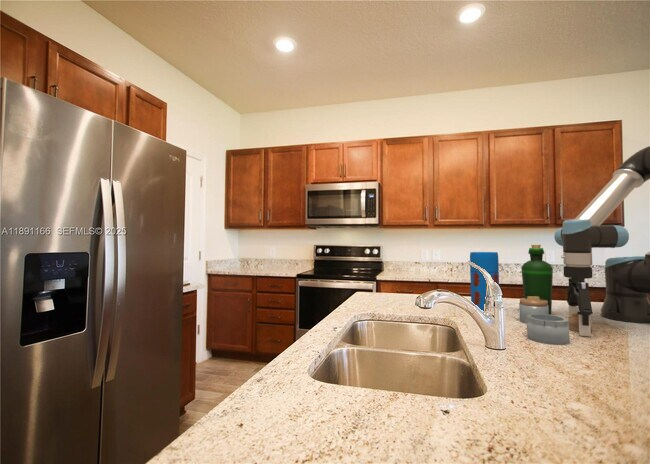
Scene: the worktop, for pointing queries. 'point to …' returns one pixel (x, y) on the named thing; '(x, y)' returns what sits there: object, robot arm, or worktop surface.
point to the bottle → (537, 276)
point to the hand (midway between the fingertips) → (579, 330)
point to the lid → (575, 323)
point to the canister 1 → (532, 307)
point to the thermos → (477, 279)
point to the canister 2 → (548, 329)
